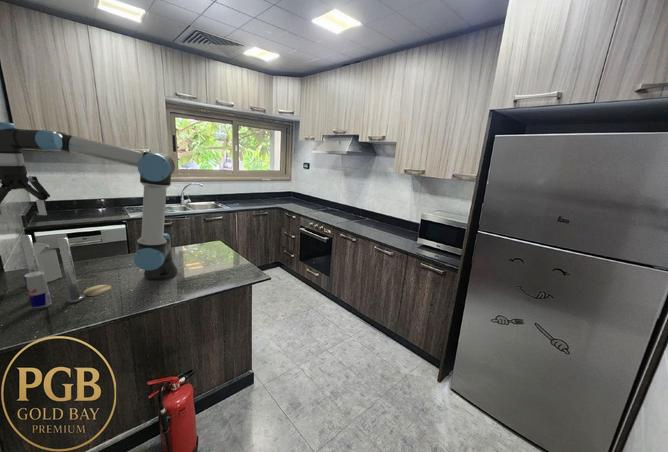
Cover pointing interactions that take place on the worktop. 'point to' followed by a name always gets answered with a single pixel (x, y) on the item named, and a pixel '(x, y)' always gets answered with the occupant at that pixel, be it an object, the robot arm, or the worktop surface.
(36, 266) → the post
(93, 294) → the coaster
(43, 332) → the worktop surface
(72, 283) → the post
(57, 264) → the milk carton
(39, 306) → the beverage can
